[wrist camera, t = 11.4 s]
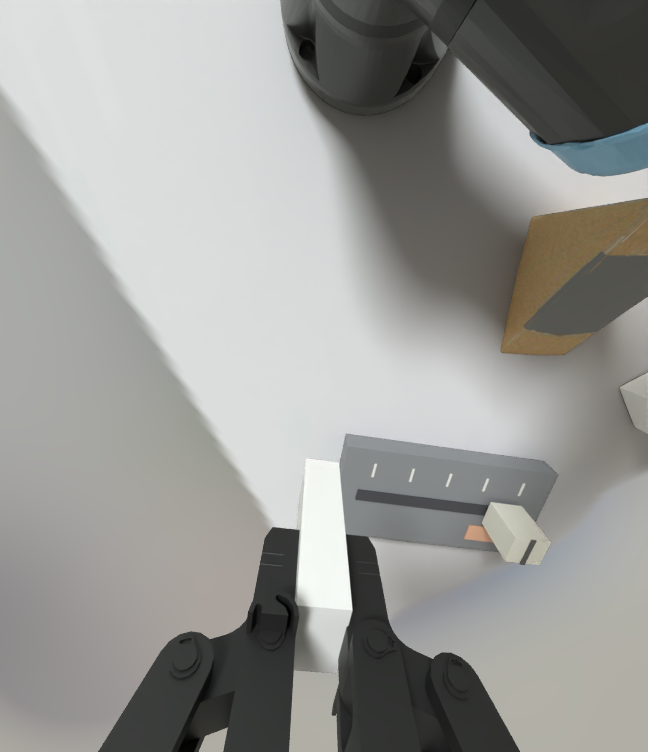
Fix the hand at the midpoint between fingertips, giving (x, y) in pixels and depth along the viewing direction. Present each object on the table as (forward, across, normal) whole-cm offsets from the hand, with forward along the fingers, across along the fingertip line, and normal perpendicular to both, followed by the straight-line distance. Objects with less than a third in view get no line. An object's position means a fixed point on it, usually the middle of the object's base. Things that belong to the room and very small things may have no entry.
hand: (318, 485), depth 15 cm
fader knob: (+23, +28, -19) cm, 41 cm away
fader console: (+26, +19, -19) cm, 38 cm away
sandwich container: (+27, +25, +10) cm, 38 cm away
